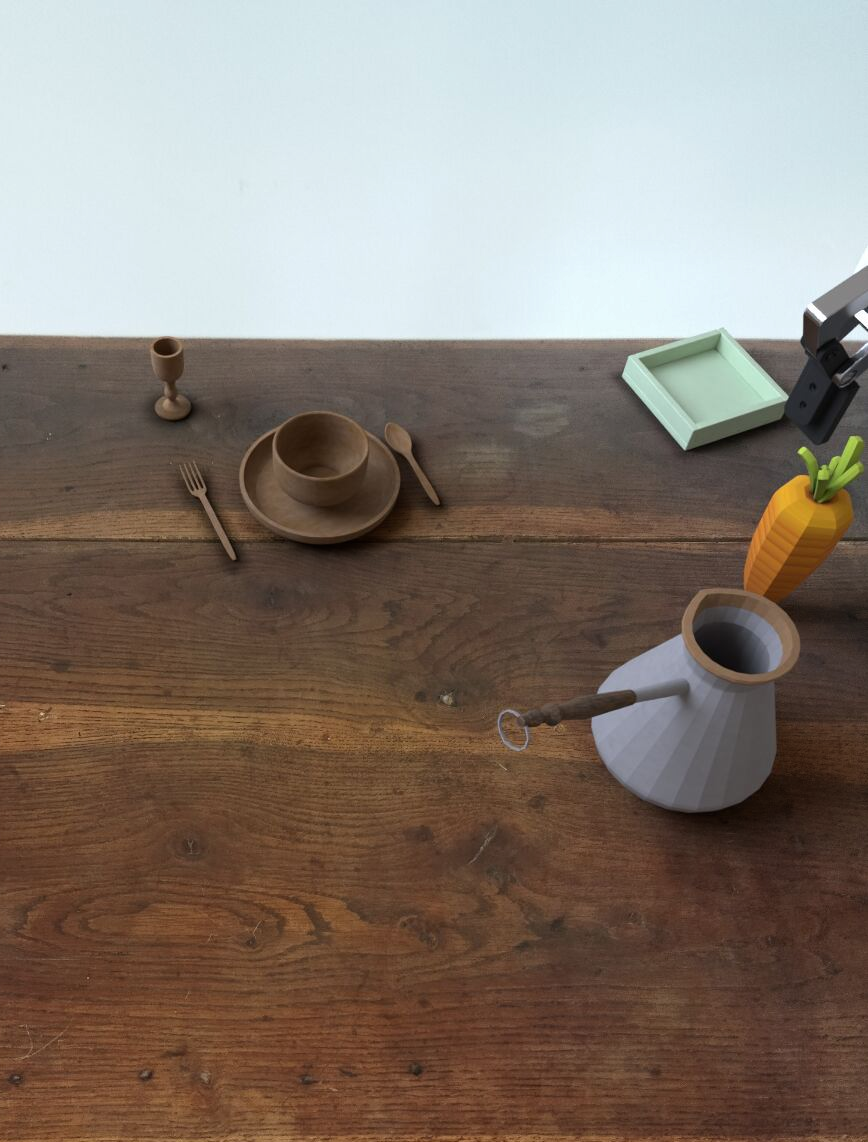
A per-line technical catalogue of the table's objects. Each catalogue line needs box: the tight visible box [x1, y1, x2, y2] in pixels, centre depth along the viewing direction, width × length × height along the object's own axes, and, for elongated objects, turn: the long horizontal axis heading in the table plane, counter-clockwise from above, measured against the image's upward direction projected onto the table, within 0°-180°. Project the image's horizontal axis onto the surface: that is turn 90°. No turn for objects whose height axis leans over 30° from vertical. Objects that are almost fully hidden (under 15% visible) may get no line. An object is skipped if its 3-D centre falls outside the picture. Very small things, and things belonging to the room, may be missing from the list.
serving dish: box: [621, 327, 790, 452], centre depth 86 cm, size 9×9×2 cm
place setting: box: [149, 335, 440, 561], centre depth 80 cm, size 18×20×6 cm
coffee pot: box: [497, 587, 801, 814], centre depth 62 cm, size 21×12×15 cm, turn 118°
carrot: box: [743, 435, 866, 604], centre depth 69 cm, size 5×5×15 cm
